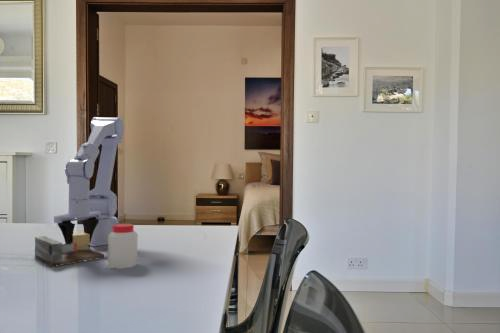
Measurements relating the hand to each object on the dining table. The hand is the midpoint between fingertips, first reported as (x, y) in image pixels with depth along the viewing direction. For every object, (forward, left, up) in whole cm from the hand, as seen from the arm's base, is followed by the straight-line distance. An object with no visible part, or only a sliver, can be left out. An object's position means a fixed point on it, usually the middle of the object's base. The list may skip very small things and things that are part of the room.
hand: (78, 244), depth 119 cm
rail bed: (+4, +3, -3) cm, 6 cm away
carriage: (0, 0, -1) cm, 1 cm away
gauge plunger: (+7, +8, 0) cm, 10 cm away
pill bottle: (-3, +20, -3) cm, 21 cm away
